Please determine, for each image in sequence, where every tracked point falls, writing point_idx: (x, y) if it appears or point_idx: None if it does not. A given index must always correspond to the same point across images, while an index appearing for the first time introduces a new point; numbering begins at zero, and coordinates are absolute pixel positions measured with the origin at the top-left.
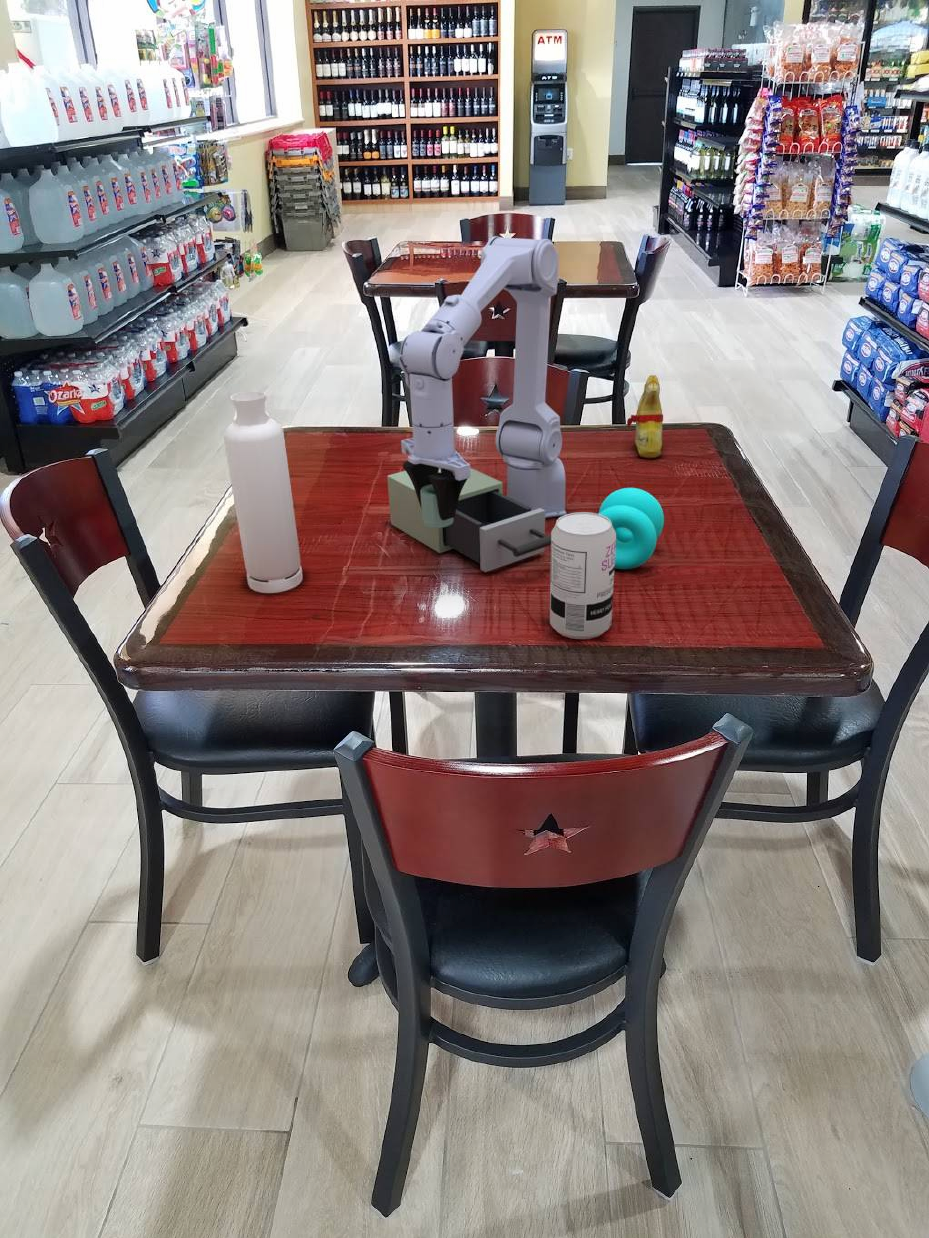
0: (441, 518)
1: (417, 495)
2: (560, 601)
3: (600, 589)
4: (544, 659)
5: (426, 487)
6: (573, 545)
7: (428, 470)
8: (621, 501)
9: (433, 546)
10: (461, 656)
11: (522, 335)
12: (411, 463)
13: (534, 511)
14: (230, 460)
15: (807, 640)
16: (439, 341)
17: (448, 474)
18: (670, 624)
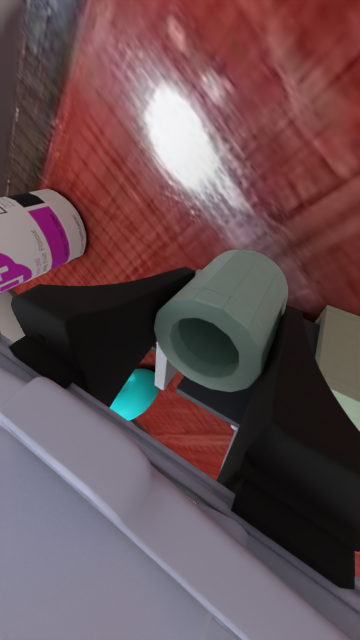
0: (188, 269)
1: (301, 334)
2: (8, 196)
3: None
4: (22, 128)
5: (245, 358)
6: None
7: (241, 437)
8: (114, 404)
9: (349, 316)
10: (47, 3)
11: None
12: (311, 489)
13: (160, 380)
14: None
15: (19, 292)
16: None
17: (25, 347)
18: (49, 271)
